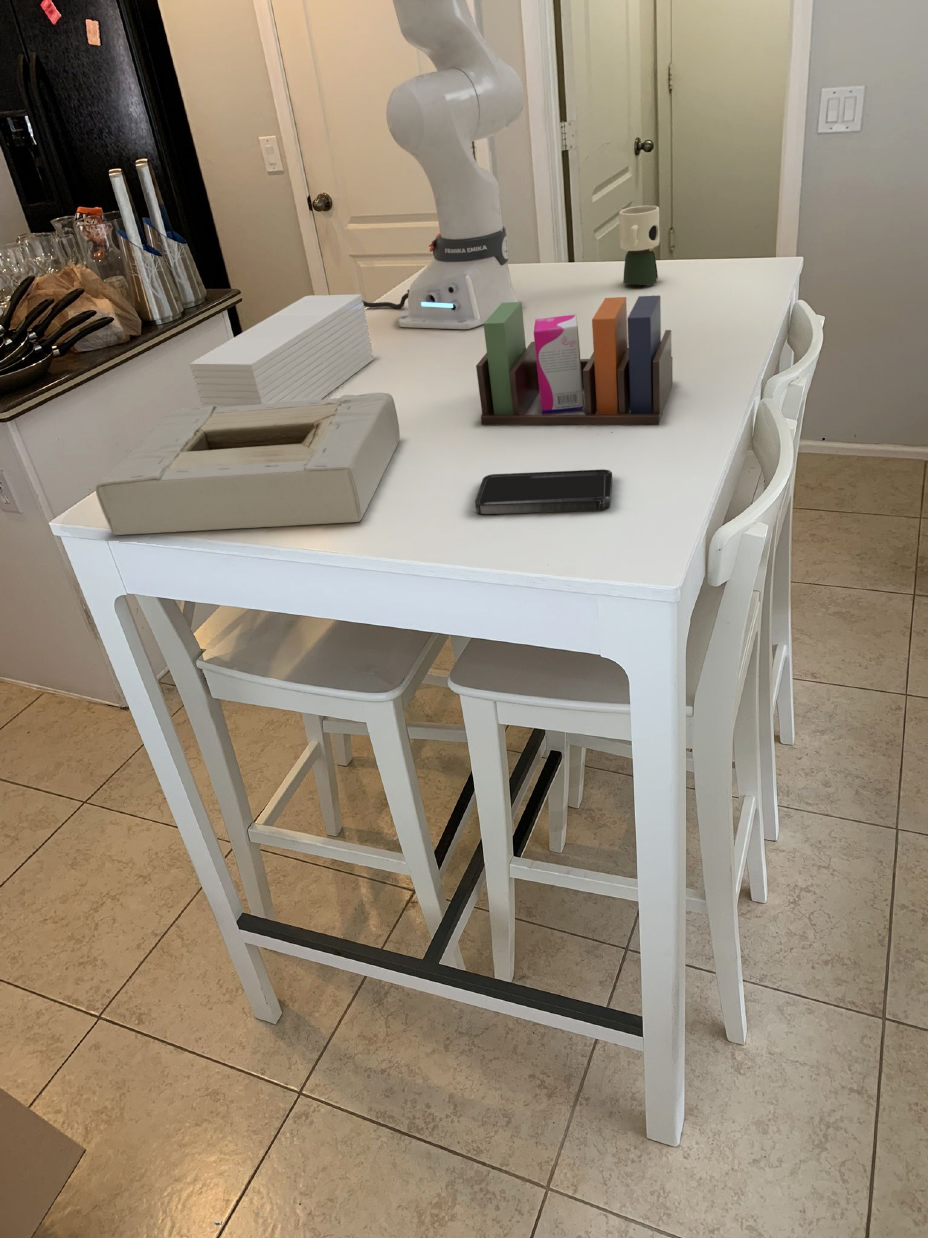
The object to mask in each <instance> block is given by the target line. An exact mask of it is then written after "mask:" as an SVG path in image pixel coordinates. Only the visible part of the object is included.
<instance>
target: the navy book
mask: <svg viewBox="0 0 928 1238" xmlns="http://www.w3.org/2000/svg"><path fill="white" fill-rule="evenodd" d="M661 310H662V309H661V295H660V294H659V295H640V296H638V297H637V299H636V301H635V303H634V305H633V307H632V309H631V311H630V312H629V315H627V337H628V351H629V384H630V412H629V414H654V412H653V360H654V357H655V355H656V353H657V350H658V348H659V345H660V343H661V340H662V332H661V331H662V329H661V328H662V326H661V325H662V324H661V322H662V319H661V317H662V316H661V315H662V313H661V312H662V311H661Z"/></svg>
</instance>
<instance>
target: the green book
mask: <svg viewBox="0 0 928 1238" xmlns="http://www.w3.org/2000/svg"><path fill="white" fill-rule="evenodd" d="M482 325H483V331H484V332H483V333H484V342H485V349H486V350H485V351H486V353H487V358H488V367H489V375H490V383H491V392H492V400H493V409H494V415H513V406H512V397H511V388H510V378H509V372H510V370H511V369H512V367H513V366H514V365H515V363H516V362H517V361H518V359H519V358H520V357H521V355H522V354H523V352H524V351H525V350H526V348H527V345H526V343H527V342H526V333H525V323H524V311H523V303H522V301H518V302H507V303H501V305H500V306H499V307H498V308H497V309H496V310H495V311H494V312H493V314H492V315H491V316H490V317H489V318H488V319H487V320H486V321H485V322H484V324H482Z"/></svg>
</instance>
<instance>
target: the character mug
mask: <svg viewBox="0 0 928 1238" xmlns="http://www.w3.org/2000/svg"><path fill="white" fill-rule="evenodd" d="M618 214H619V216H618V219H619V247H620V249H622V250H624V251H627V252H626V254H625V257H624V266H623V267H624V268H623V284H625V285H637V287H641V286H647V285H653V284H655V283H656V282H657V280H659V276H658V267H657V260H656V254H655V251H654V248H656V247H659V245H660V242H661V233H660V232H661V231H660V227H661V226H660V224H661V223H660V207H659V206H657V205H651V204H650V205H649V204H648V205H636V206H631V207H626V208H623V209H621V210H619V212H618Z"/></svg>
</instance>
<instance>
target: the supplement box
mask: <svg viewBox="0 0 928 1238" xmlns="http://www.w3.org/2000/svg"><path fill="white" fill-rule="evenodd" d="M533 327H534V328H533V340H534V341H533V342H535V351H536V362H537V371H538V382H539V402H540V412H541V414H563V413H573V412H581V411H584V389H583V388H582V374H581V360H580V359H581V349H580V348H581V346H580V337H579V336H580V335H579V323H578V316H577V314H569V315H561V316H552V317H545V318H536V319H535V321H534V326H533Z"/></svg>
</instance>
